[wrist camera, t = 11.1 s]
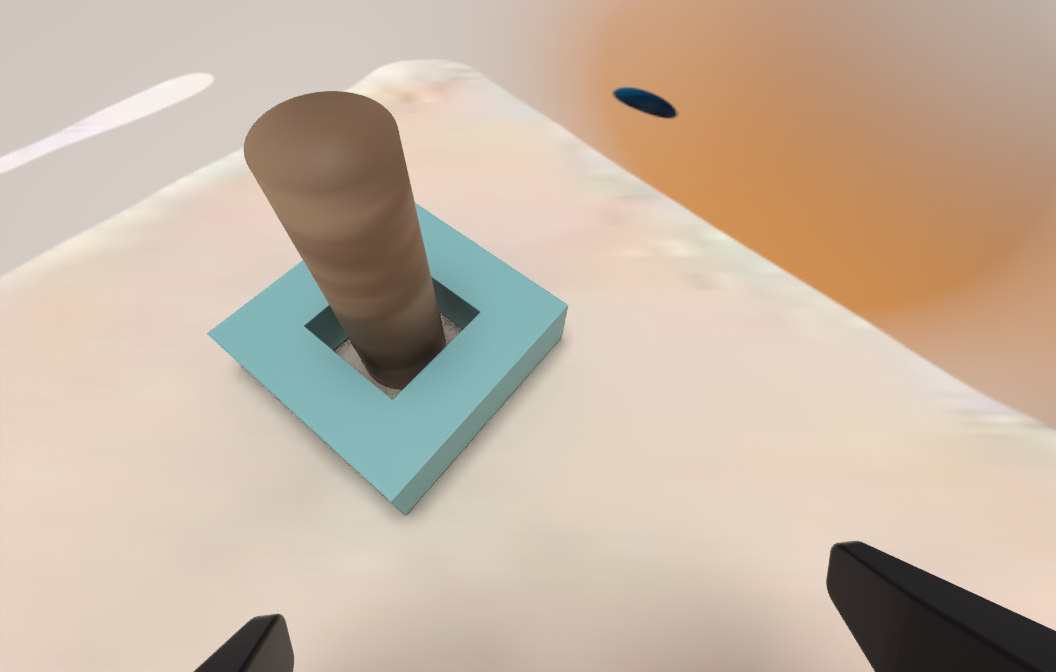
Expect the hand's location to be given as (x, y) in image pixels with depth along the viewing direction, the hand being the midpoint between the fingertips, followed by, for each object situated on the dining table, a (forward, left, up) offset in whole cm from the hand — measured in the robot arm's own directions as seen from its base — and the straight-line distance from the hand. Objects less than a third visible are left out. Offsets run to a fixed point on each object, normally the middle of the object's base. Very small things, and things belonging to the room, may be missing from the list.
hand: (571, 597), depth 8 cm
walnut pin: (0, +13, -13) cm, 18 cm away
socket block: (0, +13, -13) cm, 18 cm away
